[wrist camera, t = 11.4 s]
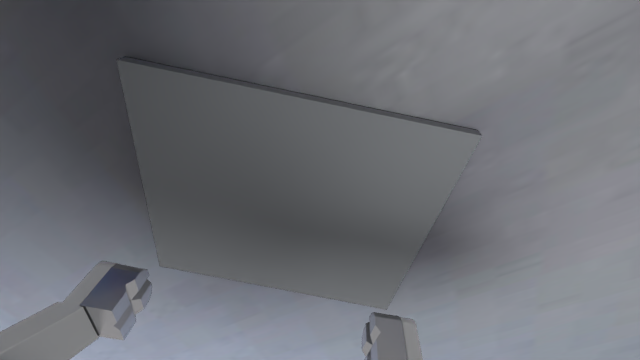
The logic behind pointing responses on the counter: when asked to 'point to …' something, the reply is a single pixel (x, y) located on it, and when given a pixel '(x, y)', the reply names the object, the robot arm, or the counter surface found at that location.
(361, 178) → the mat
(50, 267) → the counter surface
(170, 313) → the counter surface
